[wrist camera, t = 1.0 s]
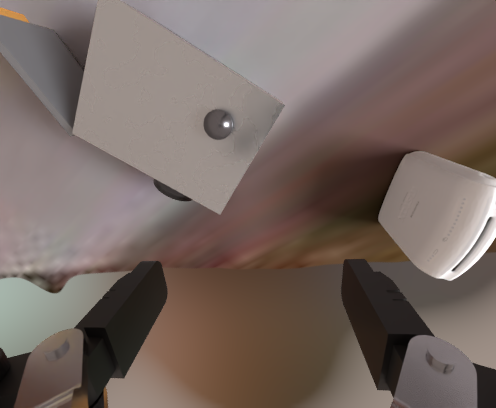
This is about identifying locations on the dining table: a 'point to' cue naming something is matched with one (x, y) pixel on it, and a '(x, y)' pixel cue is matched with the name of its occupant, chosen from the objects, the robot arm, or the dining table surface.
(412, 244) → the photo printer
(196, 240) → the dining table surface
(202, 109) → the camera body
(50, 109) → the side door
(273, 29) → the dining table surface
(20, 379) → the robot arm
